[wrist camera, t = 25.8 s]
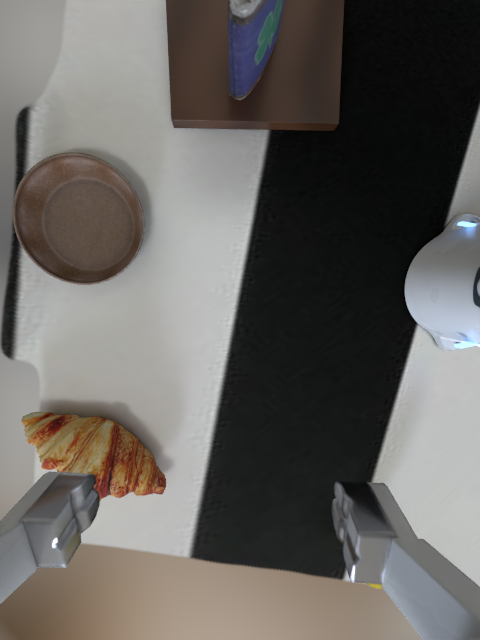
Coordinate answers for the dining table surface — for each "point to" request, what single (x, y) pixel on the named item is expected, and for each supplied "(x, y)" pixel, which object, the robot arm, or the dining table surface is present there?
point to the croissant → (95, 452)
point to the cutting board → (277, 79)
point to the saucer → (78, 218)
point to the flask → (250, 41)
